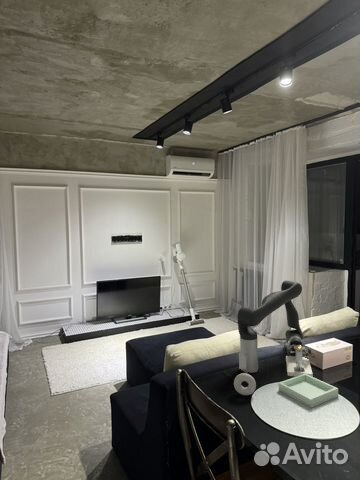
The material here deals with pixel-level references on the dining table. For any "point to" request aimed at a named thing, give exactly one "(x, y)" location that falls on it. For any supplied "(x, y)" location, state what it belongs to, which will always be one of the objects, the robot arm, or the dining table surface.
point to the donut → (247, 378)
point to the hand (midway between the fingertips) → (298, 354)
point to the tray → (308, 390)
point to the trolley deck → (292, 366)
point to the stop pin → (299, 358)
